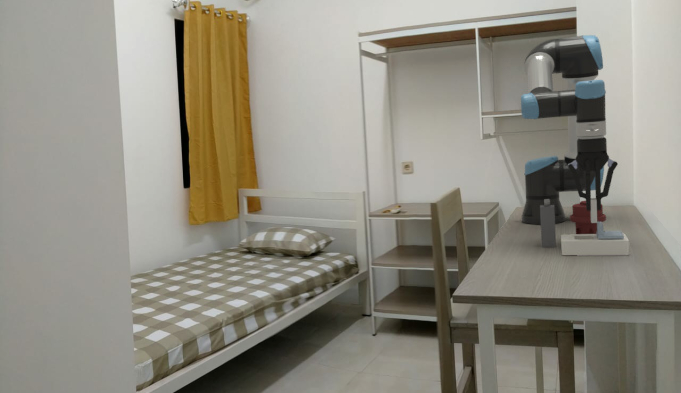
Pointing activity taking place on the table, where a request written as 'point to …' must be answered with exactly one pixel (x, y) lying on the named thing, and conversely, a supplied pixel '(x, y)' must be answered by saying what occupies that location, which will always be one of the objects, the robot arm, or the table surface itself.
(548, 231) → the plug
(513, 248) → the table surface
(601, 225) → the panel
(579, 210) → the mechanical component
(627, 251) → the socket
